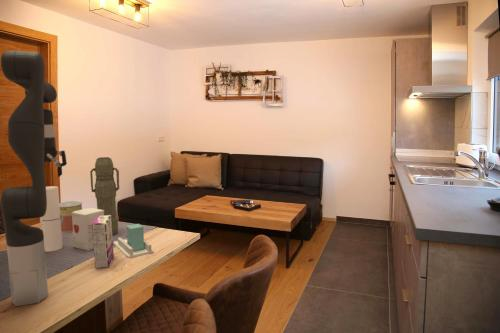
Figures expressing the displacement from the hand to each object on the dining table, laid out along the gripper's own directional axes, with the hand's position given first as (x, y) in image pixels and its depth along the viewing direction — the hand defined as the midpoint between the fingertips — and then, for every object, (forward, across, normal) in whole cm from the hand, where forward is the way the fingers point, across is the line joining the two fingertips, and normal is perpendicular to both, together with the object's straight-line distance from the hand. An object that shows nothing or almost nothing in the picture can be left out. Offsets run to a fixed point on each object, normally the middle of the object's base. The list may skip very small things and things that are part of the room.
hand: (47, 177), depth 146 cm
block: (+28, +32, -16) cm, 45 cm away
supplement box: (+30, +14, -3) cm, 33 cm away
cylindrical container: (+30, 0, -1) cm, 30 cm away
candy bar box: (+30, +20, -24) cm, 43 cm away
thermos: (+29, +21, +11) cm, 38 cm away
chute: (+29, +30, -12) cm, 44 cm away
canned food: (+30, +4, +26) cm, 40 cm away
